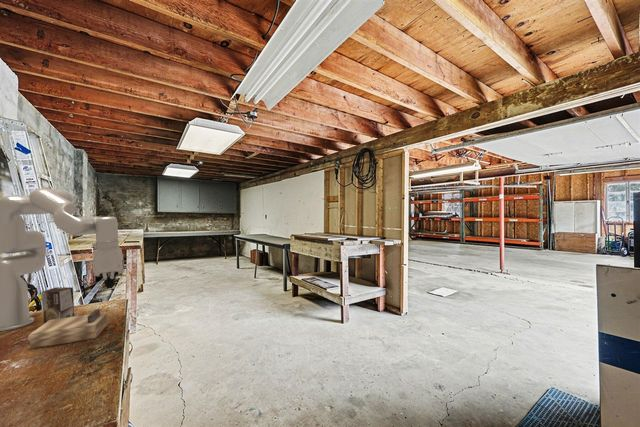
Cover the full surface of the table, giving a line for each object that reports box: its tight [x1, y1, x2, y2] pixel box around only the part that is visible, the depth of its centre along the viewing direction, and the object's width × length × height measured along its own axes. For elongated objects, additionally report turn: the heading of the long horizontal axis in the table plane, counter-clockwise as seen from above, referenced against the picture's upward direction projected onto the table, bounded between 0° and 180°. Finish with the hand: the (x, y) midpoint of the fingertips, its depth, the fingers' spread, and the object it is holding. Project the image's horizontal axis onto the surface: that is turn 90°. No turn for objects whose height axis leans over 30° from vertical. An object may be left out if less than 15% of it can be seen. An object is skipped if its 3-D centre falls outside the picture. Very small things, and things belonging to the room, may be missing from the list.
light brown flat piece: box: [27, 308, 109, 342], centre depth 113 cm, size 20×16×5 cm
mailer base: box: [29, 314, 109, 350], centre depth 113 cm, size 20×14×5 cm
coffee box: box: [41, 286, 76, 324], centre depth 125 cm, size 9×6×16 cm
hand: (110, 287), depth 118 cm, fingers closed
